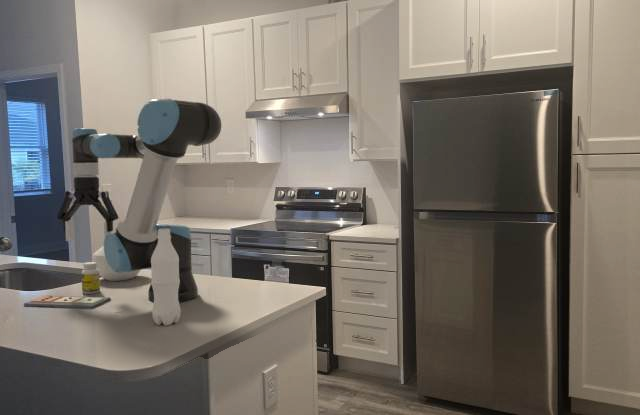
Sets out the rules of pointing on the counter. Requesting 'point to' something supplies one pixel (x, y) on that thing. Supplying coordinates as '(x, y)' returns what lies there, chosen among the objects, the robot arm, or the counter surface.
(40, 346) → the counter surface
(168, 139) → the robot arm
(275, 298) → the counter surface
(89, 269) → the supplement bottle
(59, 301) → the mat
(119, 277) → the vase
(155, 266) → the water bottle
